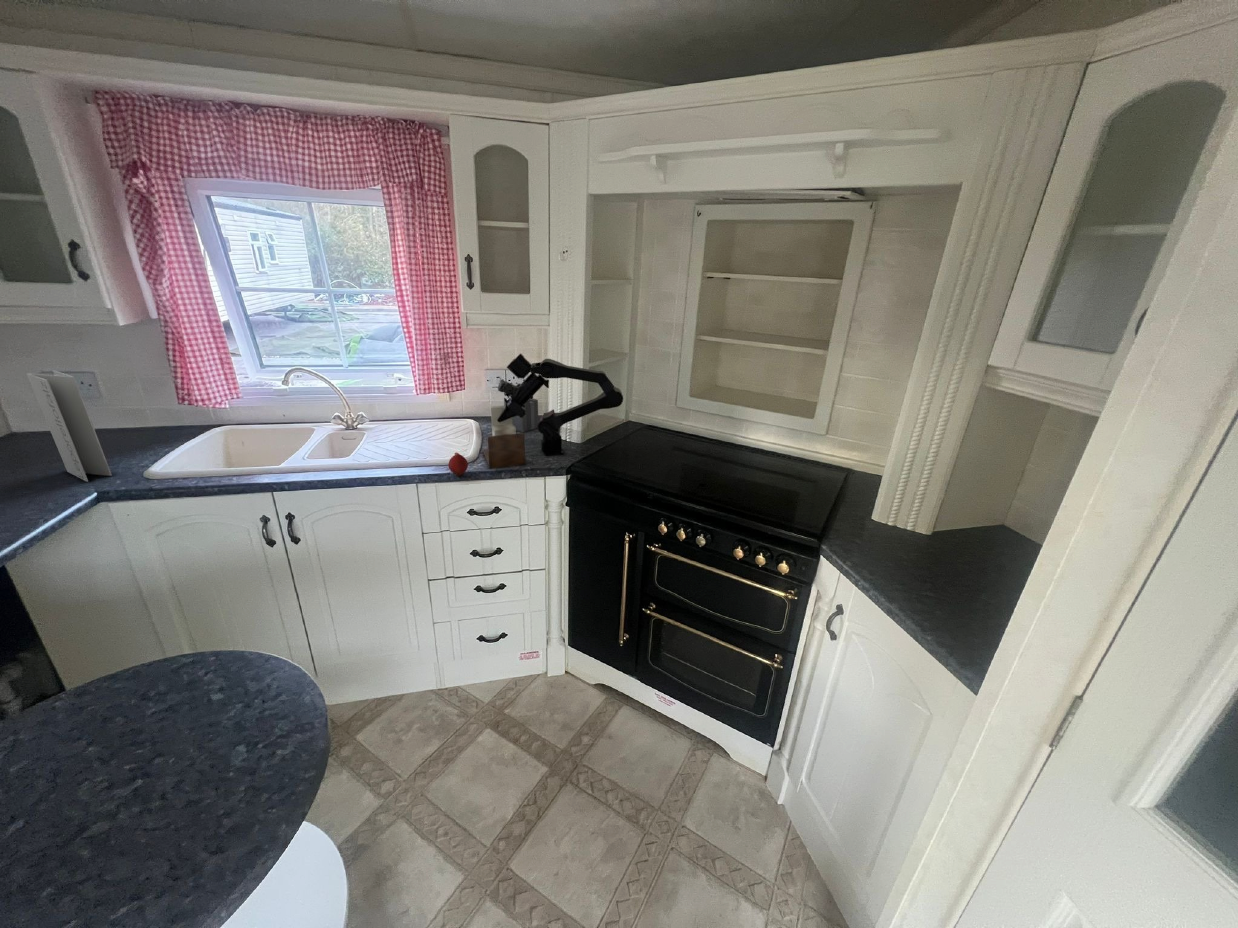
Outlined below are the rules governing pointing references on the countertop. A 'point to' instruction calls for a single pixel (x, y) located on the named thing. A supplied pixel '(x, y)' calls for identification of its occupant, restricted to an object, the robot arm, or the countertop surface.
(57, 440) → the brochure
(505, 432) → the cream-topped brown block
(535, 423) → the grey books
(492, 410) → the white book
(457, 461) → the onion
